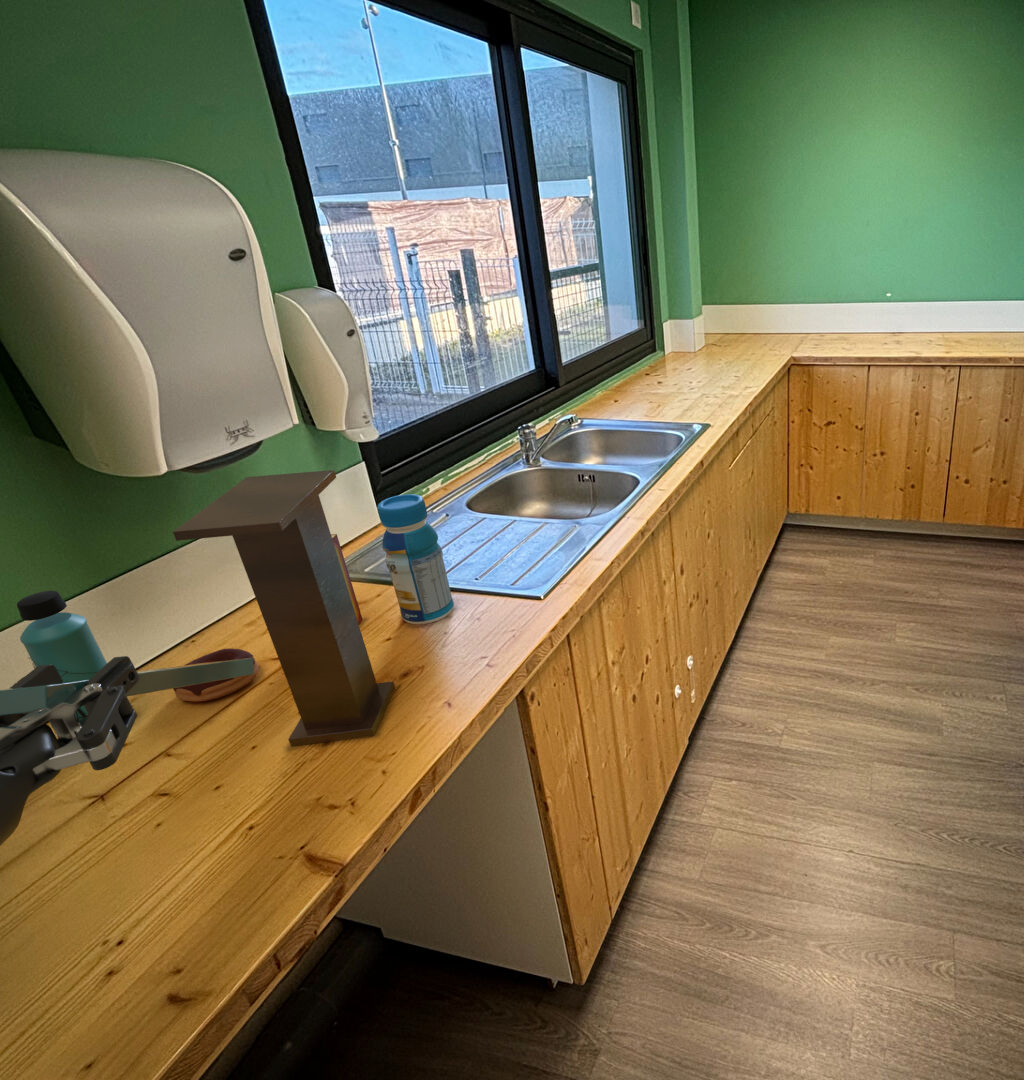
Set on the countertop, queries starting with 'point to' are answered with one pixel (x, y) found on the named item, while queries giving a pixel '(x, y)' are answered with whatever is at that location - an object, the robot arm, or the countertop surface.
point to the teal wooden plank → (148, 682)
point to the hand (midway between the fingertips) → (91, 671)
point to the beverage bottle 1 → (59, 639)
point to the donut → (221, 686)
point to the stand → (301, 600)
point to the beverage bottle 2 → (414, 560)
